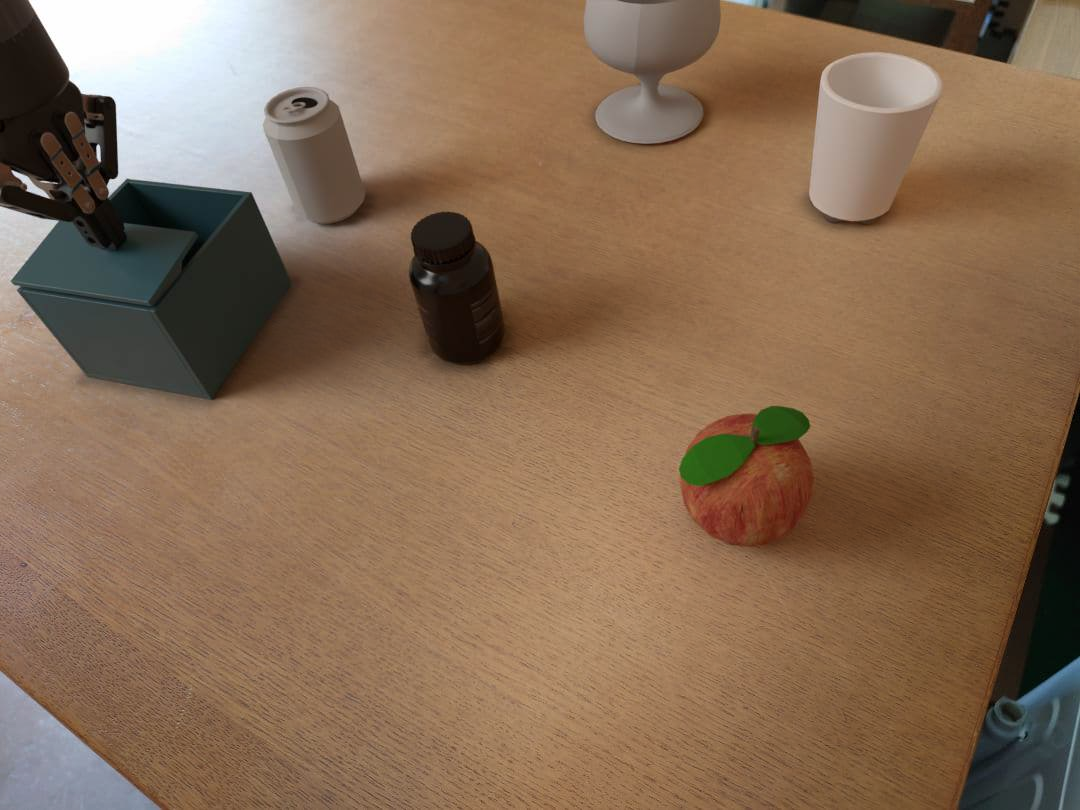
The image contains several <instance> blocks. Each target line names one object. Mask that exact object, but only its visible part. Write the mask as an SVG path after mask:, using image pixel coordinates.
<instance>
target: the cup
mask: <svg viewBox="0 0 1080 810" xmlns="http://www.w3.org/2000/svg"><path fill="white" fill-rule="evenodd" d="M943 91H944V81H943V79H942V76H940V74H939V73H938V72H937V71H936V70H935V69H934V68H933V67H932V66H931V65H929V64H927V63H925V62H923V61H921V60H919V59H916V58H913V57H910V56H908V55H904V54H897V53H894V52H893V53H892V52H884V51H883V52H881V51H872V52H871V51H870V52H860V53H856V54H850V55H847V56H845V57H842V58H839V59H836V60H834V61H833V62H831V63H829V64H827V65H826V66H825V68H824V70H823V71H822V72H821V77H820V80H819V90H818V100H817V111H816V121H815V131H814V140H813V149H812V151H813V152H812V159H811V160H812V161H811V172H810V181H809V191H808V196H809V197H808V198H809V202H810V204H812V205H813V206H814V207H815V208H816V209H817V210H818V211H819V212H820V213H821V214H822V216H823V217H824V218H825V219H826V220H827V222H830V223H832V224H834V223H836V224H837V223H840V222H858V223H860V224H862V225H867V226H869V225H871V224H873V223H874V222H875V221H876V220H878V219H880V217H881V216H883V215H884V214H885V213H887V212H888V211H890V208H891V206H892V205H893V203H894V200H895V198H896V196H897V194H898V191H899V189H900V187H901V185H902V182H903V180H904V178H905V176H906V173H907V172H908V169H909V167H910V165H911V163H912V160H913V158H914V156H915V153H916V151H917V149H918V147H919V145H920V143H921V140H922V138H923V136H924V134H925V131H926V129H927V127H928V124H929V122H930V120H931V118H932V115H933V114H934V111H935V109H936V107H937V104H938V102H939V100H940V98H941V96H942V93H943Z"/></svg>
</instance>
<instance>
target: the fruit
mask: <svg viewBox="0 0 1080 810" xmlns="http://www.w3.org/2000/svg"><path fill="white" fill-rule="evenodd" d="M811 427H812V426H811V423H810V419H809V418H808V417H807V416H806V415H805V413H804V412H802V411H800V410H798V409H795V408H794V407H788V406H781V405H770V406H768V407H765V408H763V409H760V410H759V412H758V413H757V414H756V413H738V414H730V415H729V414H728V415H726V416H723V417H721V418H719V419H716V420H715V421H713V422H711V423H709V424H707V426H705V427H704V428H703V429H701V430H699V432H698V433H697V434H696V435H695V436H694V438H693V439H692V441H691V442H690V443H689V444H688V446H687V448H686V450H685V453H684V456H683V457H682V459H681V462H680V465H679V468H678V470H679V485H680V491H681V495H682V500H683V501H682V502H683V504H684V507H685V508H686V510H687V512H688V514H689V516H690V518H691V520H693V521H694V522H695V523H696V524H697V525H698V526H699V527H700V528H701V530H703V531H704V532H705V533H706V534H707V535H709V536H710V537H711V538H713V539H716V540H718V541H721V542H723V543H726V544H728V545H729V546H736V547H751V548H753V547H760V546H767V545H768V544H770V543H772V542H774V541H776V540H779V539H781V538H783V537H785V536H786V535H788V534H789V533H790V532H792V531H793V530H794V528H796V526H797V525H798V524H799V523H800V522H801V520H802V518H803V517H804V516H805V514H806V511H807V509H808V507H809V504H810V502H811V499H812V497H813V494H814V481H815V477H814V476H815V475H814V470H813V465H812V459H811V458H810V456H809V454H808V452H807V451H806V449H805V447H804V446H803V444H802V442H801V440H800V439H801V438H802V437H803V436H805V434H807V433H808V432H809V430H810V428H811Z"/></svg>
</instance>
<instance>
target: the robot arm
mask: <svg viewBox="0 0 1080 810" xmlns="http://www.w3.org/2000/svg"><path fill="white" fill-rule="evenodd" d="M117 121H118V120H117V104H116V100H115V99H114V98H113V97H112V96H110V95H109V96H108V95H101V94H91V93H90V94H86V93H82V92H81V90H80V88H79V87H78V86H77V85H76V84H75V83H74V82H73V81H71V80H70V70H69V67H68V66H67V64H66V62H65V61H64V59H63V57H62V55H61V53H60V52H59V50H58V48H57V46H56V45H55V43H54V42H53V40H52V38H51V36H50V35H49V33H48V31H47V29H46V28H45V26H44V24H43V23H42V21H41V19H40V17H39V16H38V14H37V12H36V10H35V8H34V7H33V4H32V3H31V2H30V0H0V207H1V208H4V209H8V210H10V211H14V212H17V213H21V214H24V215H28V216H32V217H33V218H34V217H35V218H38V219H42V220H47V221H48V220H49V221H57V222H58V221H64V222H73V224H74V225H75V227H76V228H77V230H78V231H79V232H80V234H81V235H82V237H83V238H84V240H85V241H86V243H87V244H89V245H90V246H92V247H98V248H100V249H107V250H116V249H117V248H118V247H119V246H120V245H121V244H122V243H123V241H124V240H125V239H126V238H127V235H126V233H125V232H124V229H125V227H124V223H123V221H122V219H121V218H120V217H119V215H118V213H117V211H116V210H115V208H114V207H113V205H112V203H111V202H110V200H109V199H108V197H109V196H110V190H109V187H108V185H109V182H110V181H111V180H115V179H117V178H118V176H119V153H118V152H119V150H118V126H117ZM98 146H99V153H100V154H99V155H100V156H99V157H100V161H99V158H98V152H97V147H98ZM13 172H14V173H18V174H20V175H23V176H25V177H27V178H28V179H29V180H30V181H31V183H32V184H33V186H35V187H36V188H38V189H40V190H42V191H43V192H44V193H45V194H46V195H47V197H46V196H43V195H40V194H38V193H34V192H32V191H27V190H28V185H27V184H26V183H23V181H22V179H20V178H19V177H17V176H16V175H15V174H14V173H13Z"/></svg>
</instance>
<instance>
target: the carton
mask: <svg viewBox="0 0 1080 810" xmlns="http://www.w3.org/2000/svg"><path fill="white" fill-rule="evenodd" d="M108 199H109V200H110V202H111V203H112V205H113V207H114V208H115V210H116V211H117V213H118V215H119V217H120V218H121V219H122V221H123V223H127V224H135V225H143V226H151V227H159V228H167V229H175V230H183V231H192V232H196V233H197V235H198V238H197V239H196V241H195V242H194V244H193V245H192V247H191V248H190V250H189V251H188V253H187V254H186V256H185V257H184V261H185V263H186V267H185V268H184V269H183V270H182V271H181V273H180V274H179V275H178V276H177V277H176V279H175V280H174V281H173V282H172V284H171V285H170V286H169V287H168V288H167V290H166V291H165V292H164V293H163V295H162V296H161V297H160V298H159V299H158V301H157V302H156V303H155V304H154V305H153V307H152V306H146V305H139V304H133V303H126V302H120V301H114V300H107V299H101V298H94V297H88V296H81V295H75V294H68V293H62V292H55V291H49V290H42V289H36V288H29V287H23V286H18V288H17V289H16V292H17V293H18V294H19V296H20V297H21V298H22V300H24V301H25V303H26V304H27V306H29V307H30V309H31V310H32V311H33V312H34V314H35V315H36V316H37V317H38V318H39V320H40V321H41V322H42V324H43V325H44V326H45V327H46V329H47V330H48V331H49V332H50V333H51V334H52V336H53V337H54V339H56V341H57V342H58V343H59V344H60V346H61V347H62V348H63V349H64V350H65V352H66V353H67V354H68V355H69V356H70V358H71V359H72V360H73V362H74V363H75V364H76V365H77V366H78V368H79V369H80V370H81V371H82V372H83V373H84V375H85V376H86V377H87V378H92V379H96V380H102V381H107V382H114V383H118V384H119V383H120V384H124V385H130V386H134V387H141V388H145V389H151V390H155V391H161V392H167V393H173V394H179V395H184V396H188V397H189V396H190V397H195V398H201V399H206V400H213V398H214V397H215V396H216V394H217V393H218V392H219V390H220V388H221V387H222V386H223V384H224V382H225V381H226V380H227V378H228V377H229V375H230V374H231V372H232V371H233V369H234V368H235V366H236V365H237V363H239V361H240V359H241V358H242V357H243V355H244V353H245V352H246V351H247V349H248V348H249V347H250V345H251V343H252V341H253V340H254V339H255V337H256V336H257V334H258V333H259V332H260V330H261V329H262V327H263V325H264V324H265V323H266V321H267V320H268V318H269V317H270V316H271V314H272V312H273V311H274V310H275V308H276V307H277V306H278V304H279V303H280V301H281V299H282V298H283V297H284V295H285V293H286V292H287V291H288V289H289V288H290V287H291V285H292V280H291V278H290V275H289V273H288V271H287V269H286V267H285V265H284V262H283V260H282V258H281V256H280V253H279V251H278V249H277V247H276V244H275V242H274V239H273V236H272V235H271V233H270V230H269V228H268V226H267V224H266V221H265V219H264V217H263V215H262V213H261V210H260V208H259V206H258V204H257V202H256V201H257V200H256V199H255V197H254V194H253V192H252V191H243V190H234V189H225V188H215V187H207V186H198V185H197V186H196V185H188V184H180V183H179V184H178V183H169V182H160V181H150V180H140V179H133V178H131V179H130V178H126V179H125V180H124V181H123V182H122V183H121V184H120V185H119V186H118V187H117V188H116V189H114V191H113V192H112V193H111V194H109V195H108Z"/></svg>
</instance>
